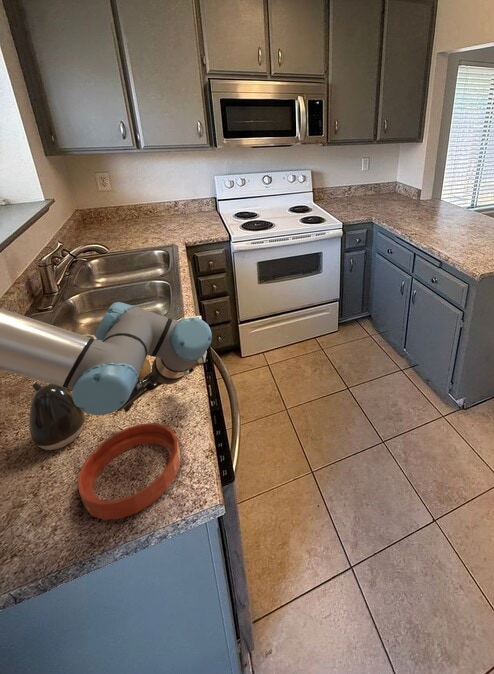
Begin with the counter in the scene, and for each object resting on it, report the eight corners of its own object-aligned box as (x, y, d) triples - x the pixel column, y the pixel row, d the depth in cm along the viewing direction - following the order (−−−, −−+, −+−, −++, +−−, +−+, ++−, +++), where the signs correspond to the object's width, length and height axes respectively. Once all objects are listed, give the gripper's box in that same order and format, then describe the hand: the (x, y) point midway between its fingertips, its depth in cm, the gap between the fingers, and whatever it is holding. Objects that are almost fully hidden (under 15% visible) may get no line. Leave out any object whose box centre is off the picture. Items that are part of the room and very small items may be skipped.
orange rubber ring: (73, 538, 64) (66, 520, 63) (94, 455, 80) (89, 438, 79) (181, 500, 71) (177, 482, 69) (180, 429, 87) (177, 413, 85)
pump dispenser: (72, 415, 91) (56, 366, 86) (97, 430, 87) (82, 379, 82) (26, 447, 83) (6, 395, 77) (52, 465, 78) (32, 411, 73)
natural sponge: (147, 398, 96) (140, 368, 93) (112, 402, 95) (104, 372, 92) (157, 375, 105) (151, 347, 101) (125, 379, 104) (118, 350, 100)
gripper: (122, 412, 67) (106, 436, 81) (229, 348, 86) (202, 376, 99) (104, 377, 69) (91, 407, 82) (213, 322, 87) (188, 354, 101)
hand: (152, 390), depth 91 cm, fingers open, 13 cm apart
